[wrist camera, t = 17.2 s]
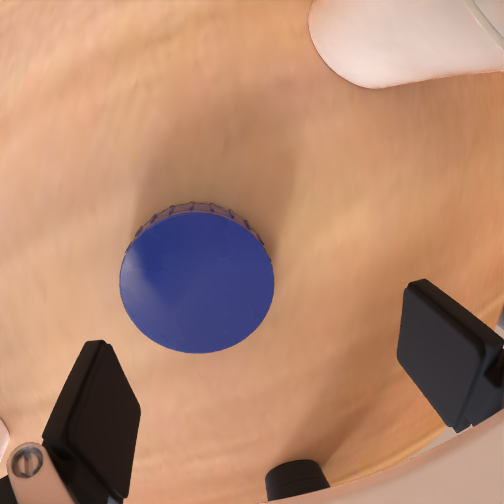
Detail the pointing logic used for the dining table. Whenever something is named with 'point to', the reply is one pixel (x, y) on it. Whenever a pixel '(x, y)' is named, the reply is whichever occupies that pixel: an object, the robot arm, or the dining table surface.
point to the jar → (408, 39)
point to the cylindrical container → (3, 438)
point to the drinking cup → (294, 480)
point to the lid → (196, 279)
